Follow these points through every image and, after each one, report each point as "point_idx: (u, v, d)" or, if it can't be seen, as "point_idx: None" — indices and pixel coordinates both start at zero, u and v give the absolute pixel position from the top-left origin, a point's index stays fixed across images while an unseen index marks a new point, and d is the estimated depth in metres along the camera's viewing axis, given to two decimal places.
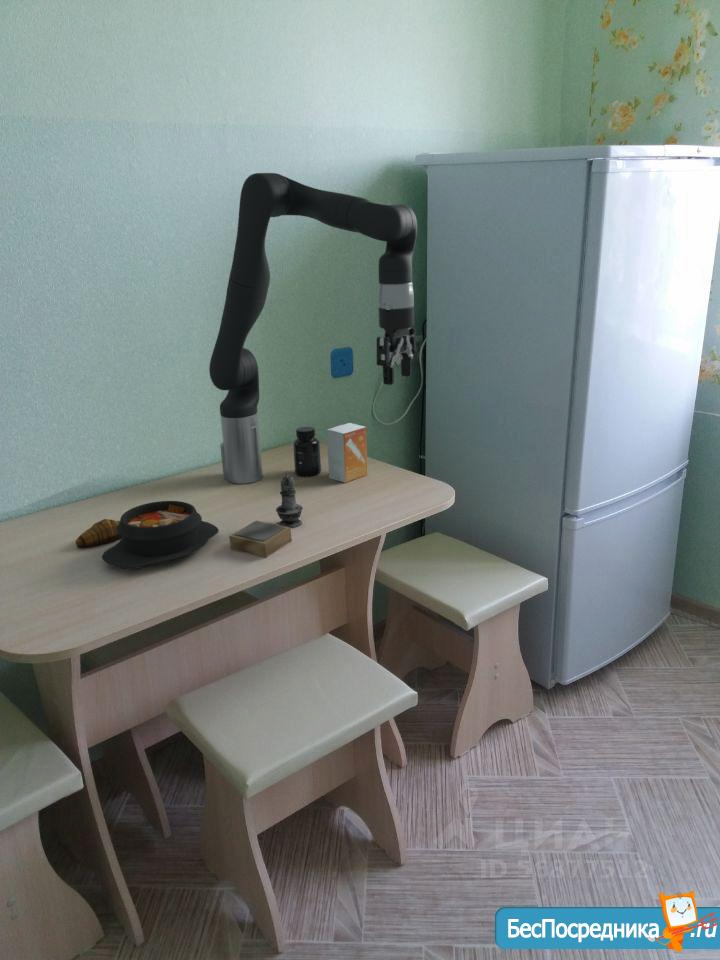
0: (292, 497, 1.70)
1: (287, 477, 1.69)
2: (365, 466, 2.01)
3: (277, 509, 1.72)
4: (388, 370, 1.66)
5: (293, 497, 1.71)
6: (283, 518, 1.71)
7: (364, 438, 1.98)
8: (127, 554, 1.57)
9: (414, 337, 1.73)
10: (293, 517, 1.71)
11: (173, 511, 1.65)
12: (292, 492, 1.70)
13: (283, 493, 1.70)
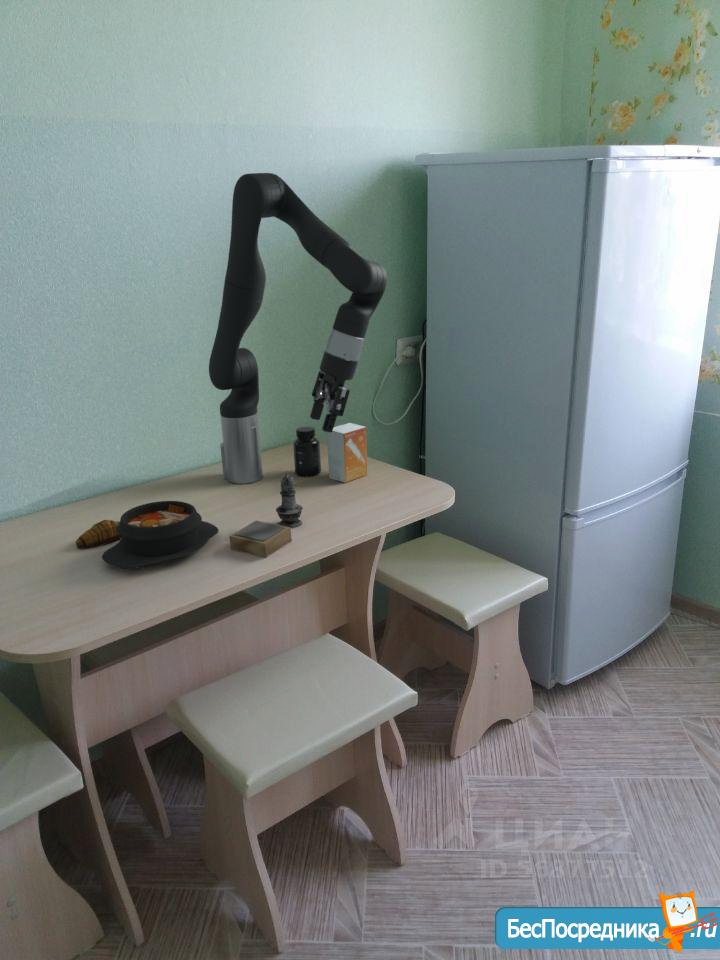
0: (292, 497, 1.70)
1: (287, 477, 1.69)
2: (365, 466, 2.01)
3: (277, 509, 1.72)
4: (334, 419, 1.66)
5: (293, 497, 1.71)
6: (283, 518, 1.71)
7: (364, 438, 1.98)
8: (127, 554, 1.57)
9: None
10: (293, 517, 1.71)
11: (173, 511, 1.65)
12: (292, 492, 1.70)
13: (283, 493, 1.70)
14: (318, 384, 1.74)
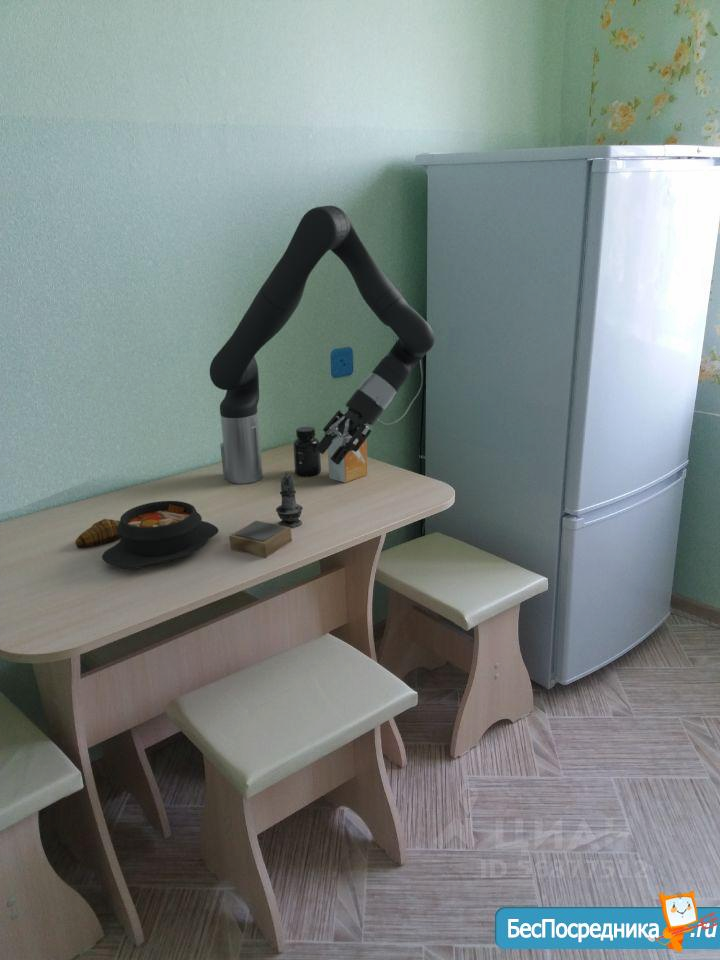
0: (292, 497, 1.70)
1: (287, 477, 1.69)
2: (365, 466, 2.01)
3: (277, 509, 1.72)
4: (346, 452, 1.68)
5: (293, 497, 1.71)
6: (283, 518, 1.71)
7: None
8: (127, 554, 1.57)
9: None
10: (293, 517, 1.71)
11: (173, 511, 1.65)
12: (292, 492, 1.70)
13: (283, 493, 1.70)
14: (334, 421, 1.77)
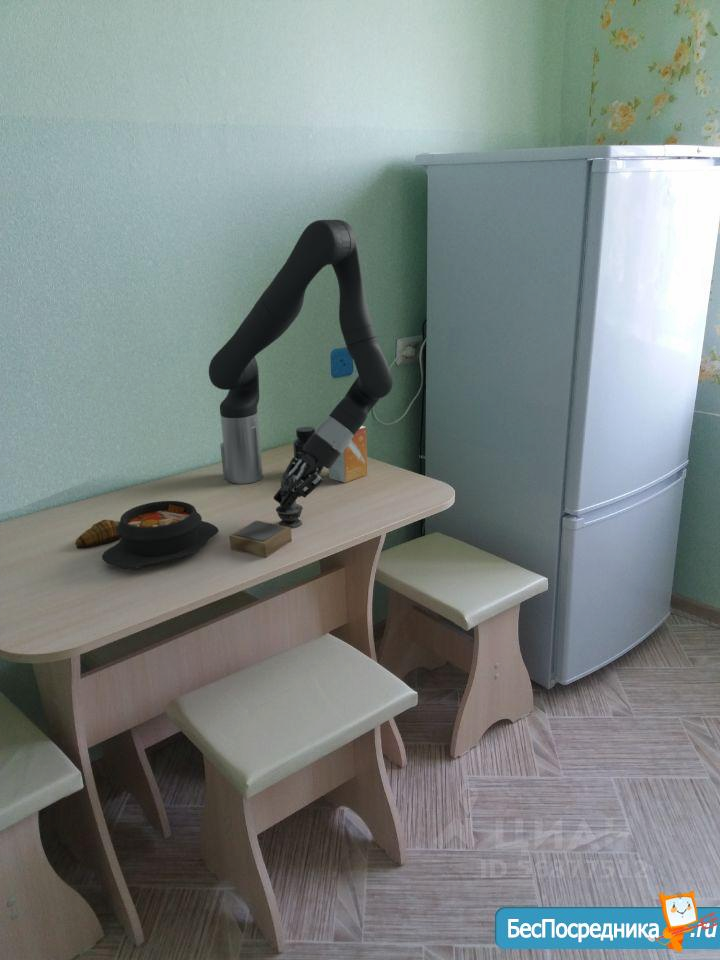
0: None
1: (287, 477, 1.69)
2: (365, 466, 2.01)
3: (277, 509, 1.72)
4: (295, 498, 1.69)
5: None
6: (283, 518, 1.71)
7: (364, 438, 1.98)
8: (127, 554, 1.57)
9: None
10: (293, 517, 1.71)
11: (173, 511, 1.65)
12: None
13: (283, 493, 1.70)
14: (291, 468, 1.75)
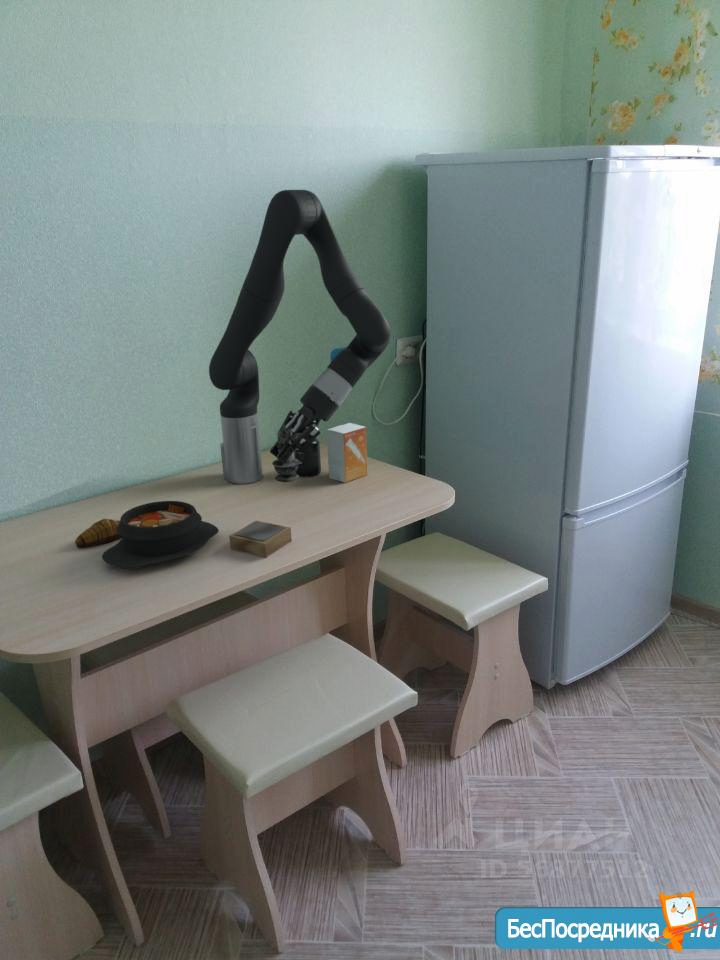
0: None
1: (284, 429, 1.66)
2: (365, 466, 2.01)
3: (273, 463, 1.68)
4: (292, 451, 1.65)
5: None
6: (280, 471, 1.67)
7: (364, 438, 1.98)
8: (127, 554, 1.57)
9: None
10: (289, 471, 1.67)
11: (173, 511, 1.65)
12: None
13: (280, 446, 1.66)
14: (288, 422, 1.71)
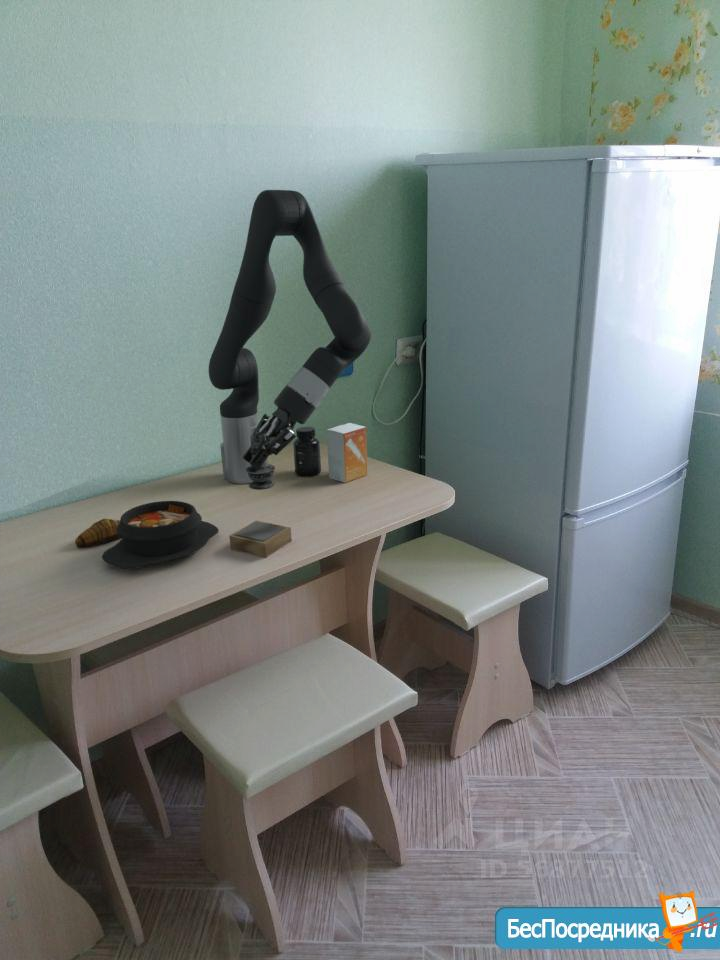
0: None
1: (257, 433, 1.55)
2: (365, 466, 2.01)
3: (247, 469, 1.58)
4: (266, 456, 1.55)
5: None
6: (254, 478, 1.57)
7: (364, 438, 1.98)
8: (127, 554, 1.57)
9: None
10: (264, 477, 1.57)
11: (173, 511, 1.65)
12: None
13: (253, 451, 1.56)
14: (262, 425, 1.61)
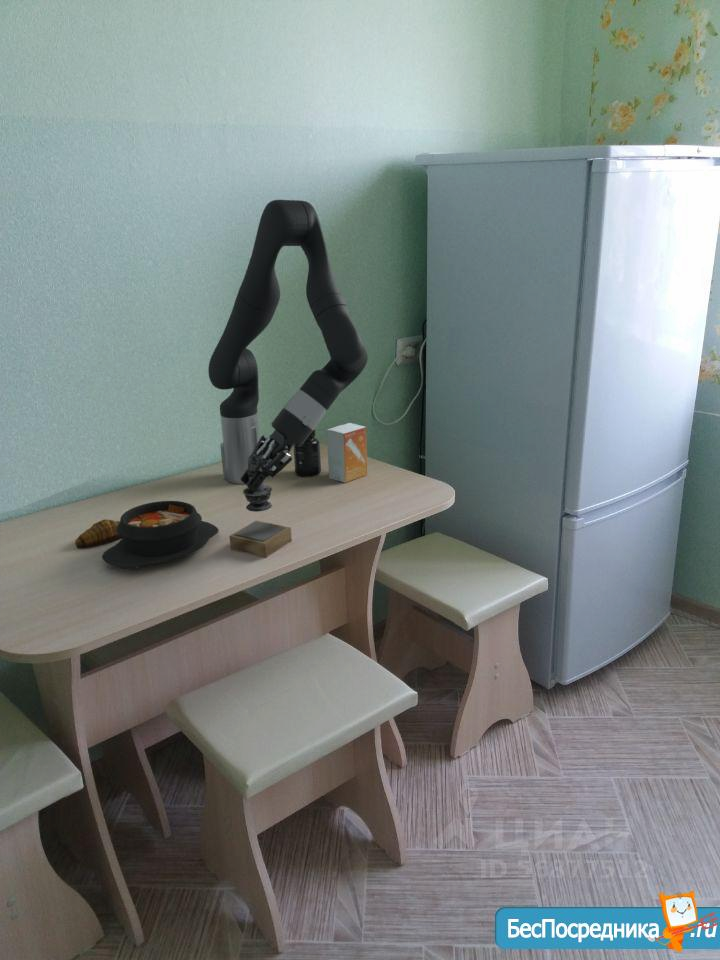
0: None
1: (254, 456, 1.56)
2: (365, 466, 2.01)
3: (244, 491, 1.59)
4: (263, 478, 1.56)
5: None
6: (251, 500, 1.58)
7: (364, 438, 1.98)
8: (127, 553, 1.57)
9: None
10: (261, 499, 1.58)
11: (173, 511, 1.65)
12: None
13: (250, 473, 1.57)
14: (259, 447, 1.62)
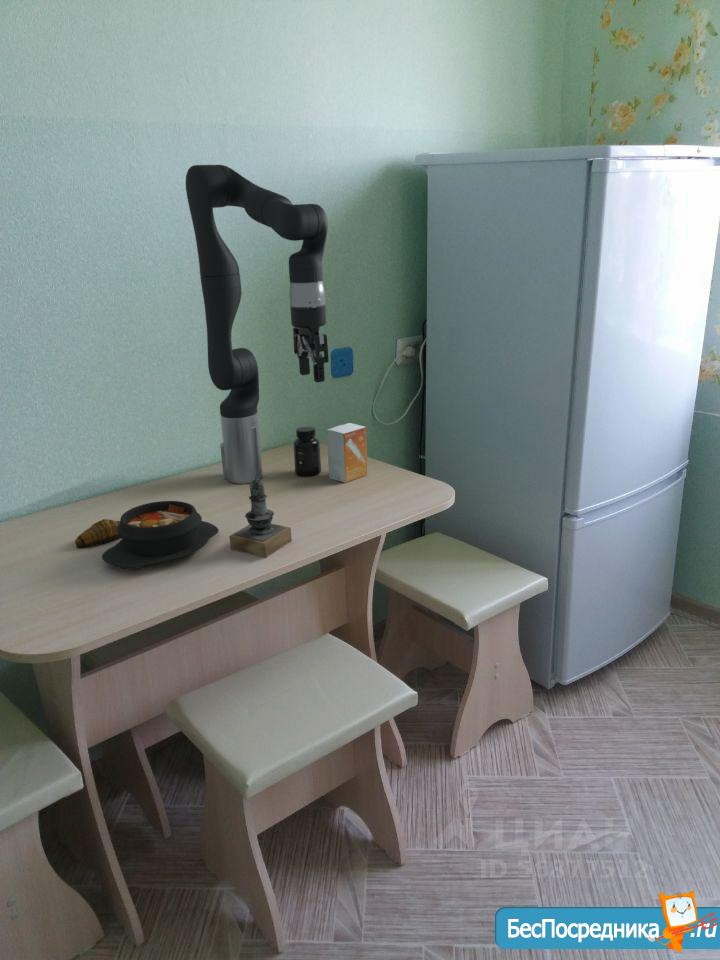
0: (262, 502, 1.59)
1: (256, 481, 1.58)
2: (365, 466, 2.01)
3: (246, 515, 1.61)
4: (322, 367, 1.68)
5: (263, 502, 1.59)
6: (253, 524, 1.60)
7: (364, 438, 1.98)
8: (127, 554, 1.57)
9: None
10: (263, 524, 1.59)
11: (173, 511, 1.65)
12: (262, 497, 1.59)
13: (252, 498, 1.59)
14: (296, 340, 1.75)
